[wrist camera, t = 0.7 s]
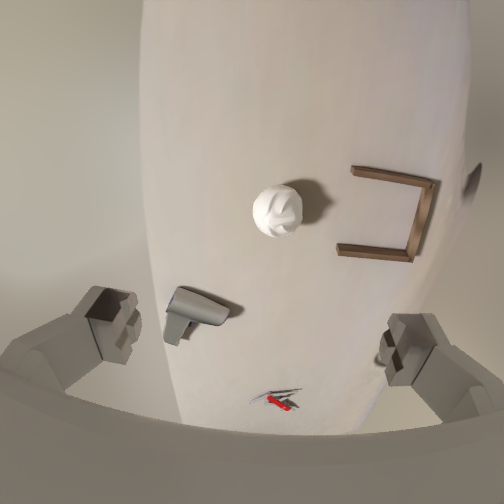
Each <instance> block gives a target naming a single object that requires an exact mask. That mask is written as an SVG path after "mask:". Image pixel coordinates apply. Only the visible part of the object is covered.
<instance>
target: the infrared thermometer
mask: <svg viewBox="0 0 504 504" xmlns="http://www.w3.org/2000/svg"><path fill="white" fill-rule="evenodd" d="M166 312H167V315H166V324H165V327H164V332H163V338H164V341H165V342H166V343H169V344H172V345H175V346H178V344H179V341H180V338H181V337H182V335H183V334H184V332H185V330H186V328H187V326H190V327H193V325H194V322H198V323H203V324H209V325H214V326H220V325H222V324H223V323H224V322H225V321H226V319H227V318H228V316H229V313H230V310H229V308H226V307H224V306H222V305H220V304H218V303H216V302H214V301H212V300H210V299H207V298H205V297H203V296H201V295H199V294H197V293H194V292H191V291H188V290H185V289H182V288H180V287H177V289H176V291H175V293H174V295H173V297H172V299H171V301H170V303H169V305H168V308H167V310H166Z"/></svg>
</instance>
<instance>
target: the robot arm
mask: <svg viewBox="0 0 504 504" xmlns="http://www.w3.org/2000/svg"><path fill="white" fill-rule="evenodd" d="M137 304H138V300H137V295H136V294H135V293H134V292H131V291H125V290H118V289H113V288H106V287H100V286H93V287H91V288H90V290H89V291H88V292H87V293H86V295H85V296H84V297H83V299H82V300H81V301H80V302H79V304H78V305H77V306H76V308H75V309H74V310H73V311H72V313H71V314H65V315H63V316H61V317H59V318H57V319H55V320H53V321H50V322H48V323H47V324H44V325H42V326H40V327H38V328H36V329H34V330H32V331H30V332H28V333H26V334H24V335H22V336H20V337H18V338H16V339H14V340H12V342H11V343H10V344H9V345H8V346H7V348H6V349H5V351H4V352H3V353H2V355H1V356H0V504H504V384H503V382H502V380H501V379H499V378H498V377H496V376H495V375H494V374H493V373H491V372H490V371H489V370H487V369H486V368H485V367H483V366H482V365H481V364H479V363H478V362H477V361H475V360H474V359H473V358H471V357H470V356H469V355H467V354H466V353H464V352H463V351H462V350H460V349H459V348H458V347H456V346H455V345H451V344H450V342H449V341H448V339H447V337H446V335H445V333H444V331H443V329H442V327H441V326H440V324H439V322H438V320H437V319H436V317H435V315H433V314H432V313H419V314H395V313H393V314H392V315H391V316H390V318H389V320H388V323H387V324H388V326H389V329H388V330H387V331H385V332H384V333H383V335H382V338H381V340H380V348H379V351H380V357H381V361H382V362H383V363H385V364H386V365H387V367H386V369H385V374H386V378H387V381H388V385H389V386H411V387H412V388H413V389H414V390H415V391H416V393H418V395H419V396H420V397H421V398H422V399H423V400H424V401H425V402H426V403H427V404H428V406H429V407H430V408H431V409H432V410H433V411H434V412H435V414H436V415H437V416H438V417H439V418H440V419H441V420H442V421H443V422H442V423H441V424H440V425H434V426H428V427H421V428H415V429H407V430H399V431H390V432H379V433H367V434H351V435H276V434H260V433H247V432H237V431H228V430H219V429H212V428H204V427H198V426H191V425H185V424H179V423H174V422H168V421H164V420H159V419H153V418H149V417H144V416H141V415H136V414H132V413H128V412H124V411H120V410H116V409H113V408H109V407H106V406H102V405H99V404H95V403H92V402H89V401H85V400H82V399H79V398H76V397H73V396H70V395H67V394H66V393H65V390H66V389H67V388H68V387H70V386H71V385H72V384H74V383H75V382H76V381H78V380H79V379H80V378H82V377H83V376H84V375H86V374H87V373H88V372H90V371H91V370H92V369H94V368H95V367H96V366H97V365H99V364H100V363H102V360H103V361H108V362H113V363H118V364H123V365H126V363H127V361H128V359H129V356H130V355H131V352H132V347H131V344H133V343H134V342H136V341H137V340H138V338H139V336H140V331H141V327H142V322H141V315H140V313H139V311H138V310H137V309H136V306H137Z"/></svg>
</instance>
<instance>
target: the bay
mask: <svg viewBox="0 0 504 504" xmlns="http://www.w3.org/2000/svg"><path fill="white" fill-rule="evenodd" d="M350 172H351V173H352V174H353V175H354V176H358V177H365V178H371V179H378V180H384V181H390V182H396V183H401V184H407V185H412V186H418V187H422V191H421V195H420V200H419V203H418V207H417V211H416V215H415V219H414V222H413V226H412V229H411V233H410V236H409V240H408V243H407V246H406V249H405V250H396V249H387V248H377V247H367V246H357V245H347V244H337V246H336V250H337V253H338V256H347V257H358V258H369V259H379V260H390V261H401V262H412V263H413V260H414V257H415V254H416V251H417V248H418V245H419V242H420V239H421V235H422V232H423V229H424V225H425V222H426V219H427V215H428V211H429V208H430V204H431V200H432V196H433V192H434V188H435V183H433V182H432V181H431V180H429V179H424V178H420V177H415V176H410V175H404V174H399V173H394V172H388V171H382V170H376V169H370V168H364V167H357V166H351V171H350Z"/></svg>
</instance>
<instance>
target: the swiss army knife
mask: <svg viewBox="0 0 504 504" xmlns="http://www.w3.org/2000/svg"><path fill="white" fill-rule="evenodd" d="M297 392H298V391H293V392H285V393H273V392H272V391H268V392H267V393H266V394H265V395H263V396H261V397H259V398H256V399H254V400H252V401H251V402H250V404H251V403H255V402H257V401H259V400H261V399H264V398H266V399H265V401H266V402H265V403H266V404H265V403H263V404H264V405H268V406H278V407H280V408H282V409H281V411H282V410H285V411H289V410H290V409H291V410H292V411H296V410H295V409H294V408H292V407H290V403H289V402H287V401H286V400H285V399H287V398H290V397H283V398H281V397H279V396H282V395H288V394H289V393H297ZM268 400H269V401H270V402H272V403H269V401H268Z"/></svg>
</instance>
